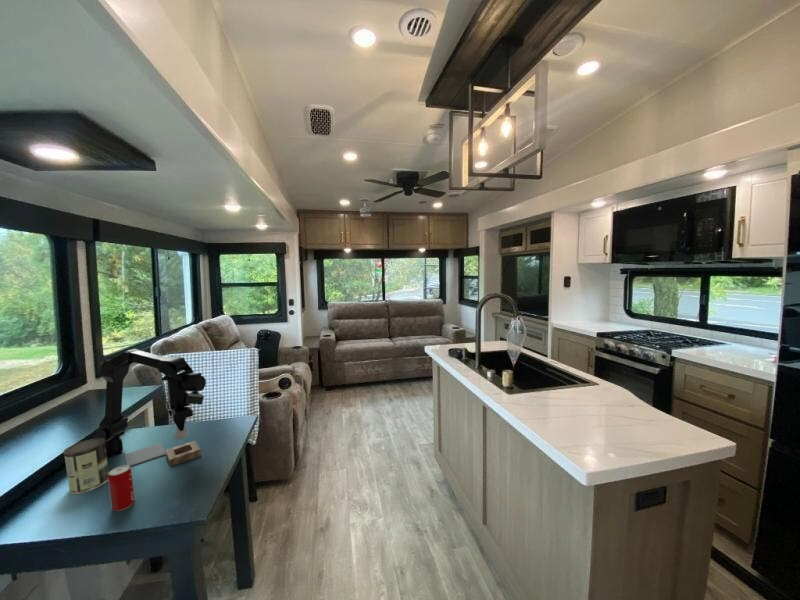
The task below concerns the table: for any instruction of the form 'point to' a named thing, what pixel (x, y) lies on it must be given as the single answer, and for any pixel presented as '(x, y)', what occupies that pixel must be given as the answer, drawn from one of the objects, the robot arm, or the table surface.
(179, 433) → the rook chess piece
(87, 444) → the coffee can
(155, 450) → the grey mat
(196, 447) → the brown wooden frame
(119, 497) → the soda can
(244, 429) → the table surface
